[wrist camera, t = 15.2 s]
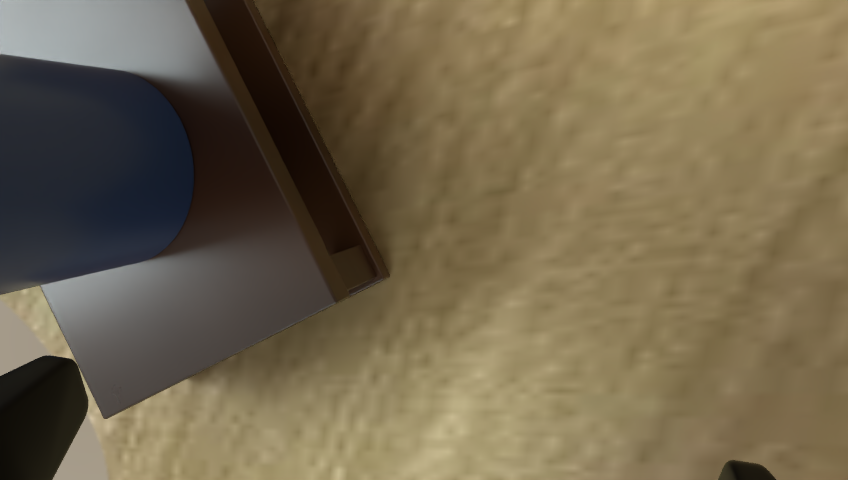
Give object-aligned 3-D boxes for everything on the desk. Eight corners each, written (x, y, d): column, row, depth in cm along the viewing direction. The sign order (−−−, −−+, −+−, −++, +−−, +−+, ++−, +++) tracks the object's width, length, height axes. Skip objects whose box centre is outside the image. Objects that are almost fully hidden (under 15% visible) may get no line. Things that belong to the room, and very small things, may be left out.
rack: (391, 276, 22) (337, 303, 18) (184, 379, 26) (103, 420, 22) (209, -89, 22) (119, -136, 19) (29, 63, 26) (-76, 50, 22)
